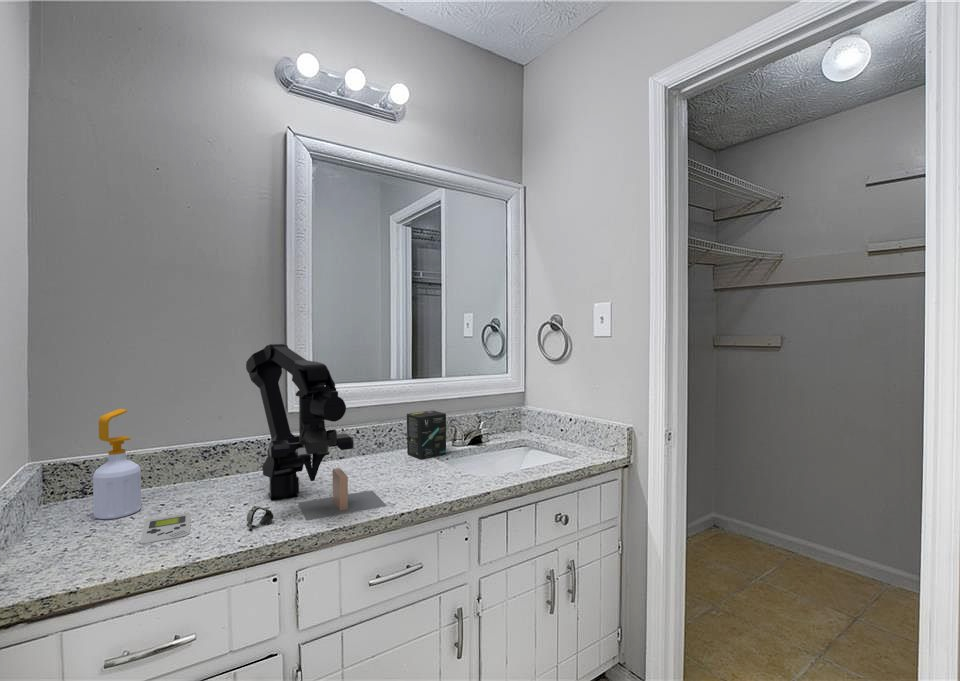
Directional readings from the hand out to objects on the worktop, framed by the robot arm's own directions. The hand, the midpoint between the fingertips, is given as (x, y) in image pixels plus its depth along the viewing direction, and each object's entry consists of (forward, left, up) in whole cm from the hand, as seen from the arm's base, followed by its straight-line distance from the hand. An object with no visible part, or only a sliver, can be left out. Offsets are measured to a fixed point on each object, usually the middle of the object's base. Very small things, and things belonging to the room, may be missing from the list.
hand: (312, 480), depth 117 cm
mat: (+7, 0, -7) cm, 10 cm away
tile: (+7, 0, -7) cm, 9 cm away
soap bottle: (-41, +21, -8) cm, 47 cm away
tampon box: (+45, +36, -8) cm, 58 cm away
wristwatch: (-12, -4, -8) cm, 15 cm away
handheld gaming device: (-30, +5, -8) cm, 31 cm away
